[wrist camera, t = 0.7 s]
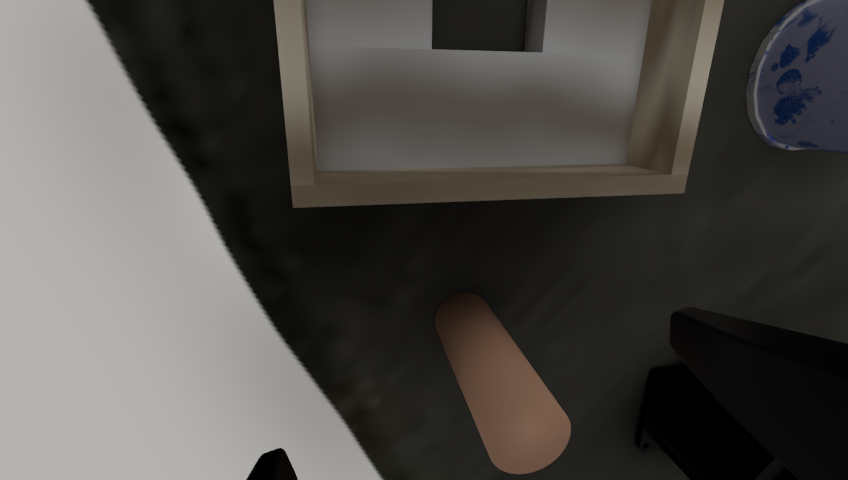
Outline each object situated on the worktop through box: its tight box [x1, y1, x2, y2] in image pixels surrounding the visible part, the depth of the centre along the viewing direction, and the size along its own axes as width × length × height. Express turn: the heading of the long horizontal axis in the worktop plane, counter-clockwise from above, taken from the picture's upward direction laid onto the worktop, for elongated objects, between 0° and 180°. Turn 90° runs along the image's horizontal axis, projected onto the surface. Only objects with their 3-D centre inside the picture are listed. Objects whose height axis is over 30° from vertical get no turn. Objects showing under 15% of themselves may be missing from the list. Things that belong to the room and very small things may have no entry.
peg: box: [435, 293, 571, 474], centre depth 20 cm, size 3×3×9 cm
